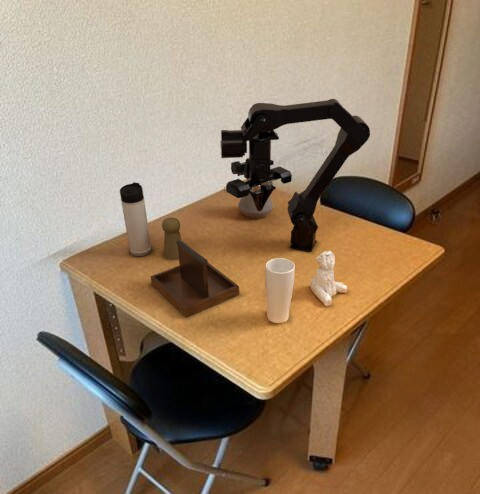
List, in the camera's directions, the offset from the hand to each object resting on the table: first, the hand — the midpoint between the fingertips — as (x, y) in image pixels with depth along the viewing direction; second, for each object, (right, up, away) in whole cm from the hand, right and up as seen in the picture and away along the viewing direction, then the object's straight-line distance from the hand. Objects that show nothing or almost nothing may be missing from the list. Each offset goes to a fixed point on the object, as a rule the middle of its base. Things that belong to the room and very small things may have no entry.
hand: (259, 210), depth 140 cm
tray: (-17, -23, -9) cm, 30 cm away
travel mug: (-35, -11, +7) cm, 37 cm away
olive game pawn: (-25, -12, +5) cm, 28 cm away
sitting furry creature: (+16, -24, -11) cm, 31 cm away
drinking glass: (+4, -31, -19) cm, 36 cm away
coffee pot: (-3, +2, +22) cm, 22 cm away
